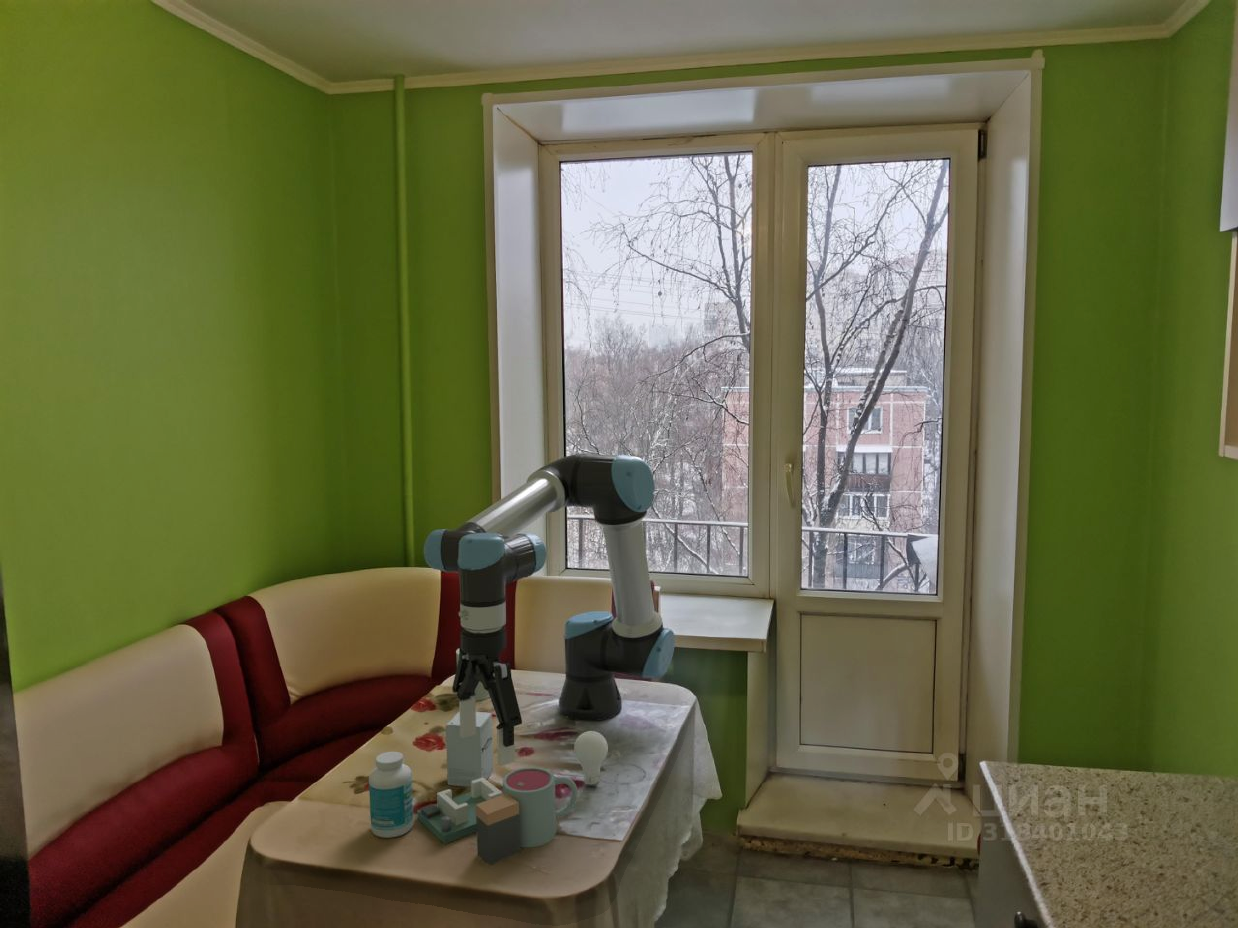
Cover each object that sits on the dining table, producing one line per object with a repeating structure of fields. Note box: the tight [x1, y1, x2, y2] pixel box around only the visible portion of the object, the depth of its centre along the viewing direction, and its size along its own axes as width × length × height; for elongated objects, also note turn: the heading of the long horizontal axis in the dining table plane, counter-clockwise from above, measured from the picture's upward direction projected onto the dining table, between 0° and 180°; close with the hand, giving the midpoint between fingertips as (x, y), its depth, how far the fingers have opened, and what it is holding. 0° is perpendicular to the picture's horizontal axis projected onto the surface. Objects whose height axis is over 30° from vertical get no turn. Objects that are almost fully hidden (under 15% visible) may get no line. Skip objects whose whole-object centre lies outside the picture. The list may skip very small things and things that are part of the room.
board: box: [416, 777, 503, 845], centre depth 157 cm, size 14×11×4 cm
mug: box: [502, 766, 579, 848], centre depth 152 cm, size 14×9×10 cm
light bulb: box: [573, 730, 609, 787], centre depth 168 cm, size 7×7×11 cm
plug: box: [476, 793, 521, 866], centre depth 145 cm, size 6×4×9 cm, turn 128°
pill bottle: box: [368, 751, 414, 839], centre depth 153 cm, size 8×7×14 cm
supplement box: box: [445, 710, 494, 788], centre depth 172 cm, size 7×7×13 cm
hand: (486, 748), depth 145 cm, fingers open, 13 cm apart
